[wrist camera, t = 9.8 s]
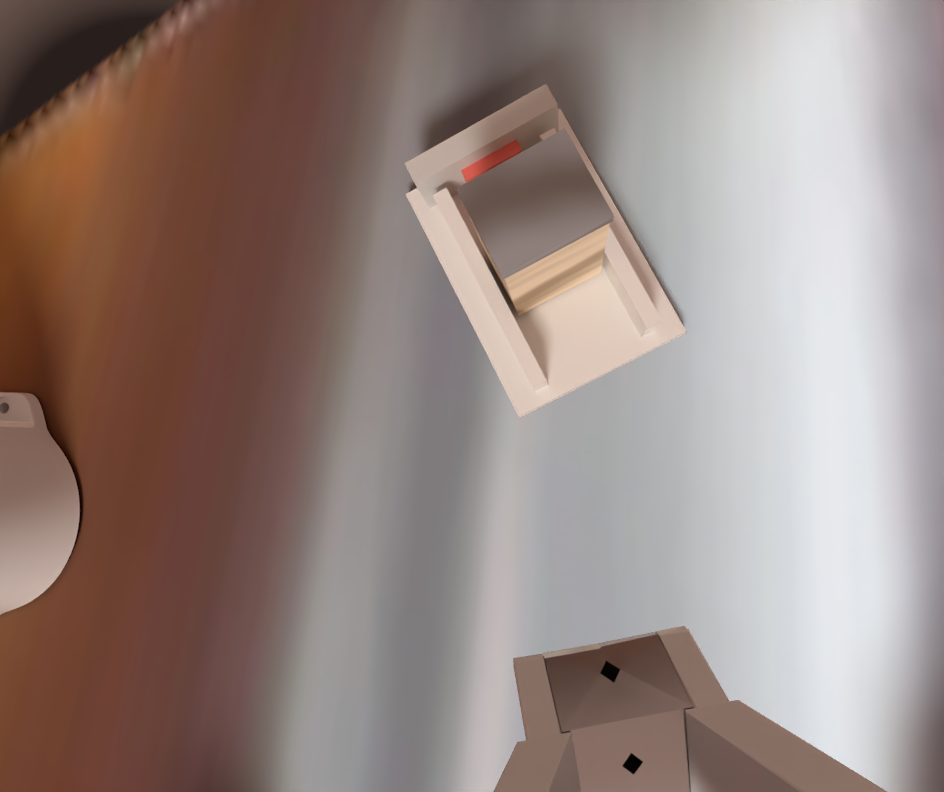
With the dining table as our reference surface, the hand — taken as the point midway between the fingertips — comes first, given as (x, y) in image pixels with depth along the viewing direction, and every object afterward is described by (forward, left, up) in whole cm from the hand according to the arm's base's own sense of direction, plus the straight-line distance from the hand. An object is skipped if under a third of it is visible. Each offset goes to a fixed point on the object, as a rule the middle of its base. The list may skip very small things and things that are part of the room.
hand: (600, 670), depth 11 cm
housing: (-6, +16, -31) cm, 35 cm away
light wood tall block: (-6, +15, -29) cm, 33 cm away
